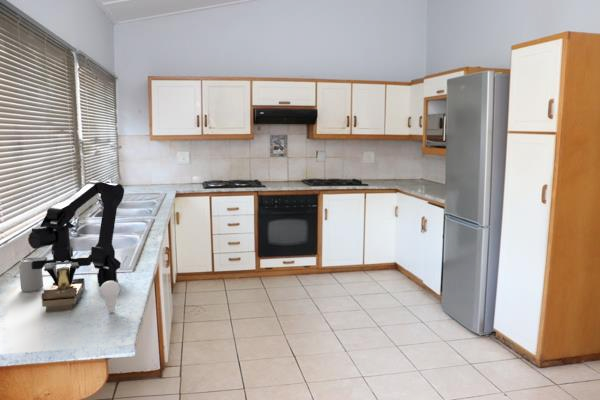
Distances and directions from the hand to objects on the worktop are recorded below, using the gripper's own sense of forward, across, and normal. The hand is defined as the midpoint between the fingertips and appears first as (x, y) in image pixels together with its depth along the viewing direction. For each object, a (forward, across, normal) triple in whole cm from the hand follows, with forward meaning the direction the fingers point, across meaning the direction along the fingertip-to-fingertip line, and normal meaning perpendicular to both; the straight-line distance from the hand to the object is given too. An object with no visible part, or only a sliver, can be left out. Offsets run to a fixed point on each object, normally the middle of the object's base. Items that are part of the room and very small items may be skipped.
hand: (64, 285), depth 177 cm
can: (+6, +14, -15) cm, 21 cm away
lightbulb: (+6, -17, +17) cm, 25 cm away
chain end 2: (+6, 0, -3) cm, 6 cm away
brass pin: (+4, 0, 0) cm, 4 cm away
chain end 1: (+6, 0, +3) cm, 6 cm away
